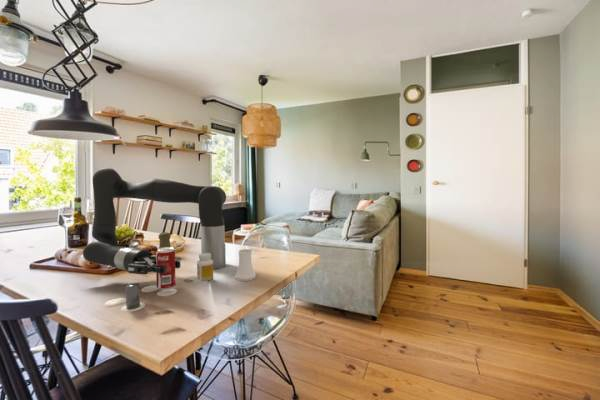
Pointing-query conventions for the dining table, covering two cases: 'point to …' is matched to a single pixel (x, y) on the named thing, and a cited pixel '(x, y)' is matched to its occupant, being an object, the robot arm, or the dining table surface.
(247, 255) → the salt shaker
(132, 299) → the pin
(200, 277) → the supplement bottle
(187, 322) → the dining table surface
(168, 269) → the soda can
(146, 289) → the white oval discs
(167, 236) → the olive green pepper shaker
